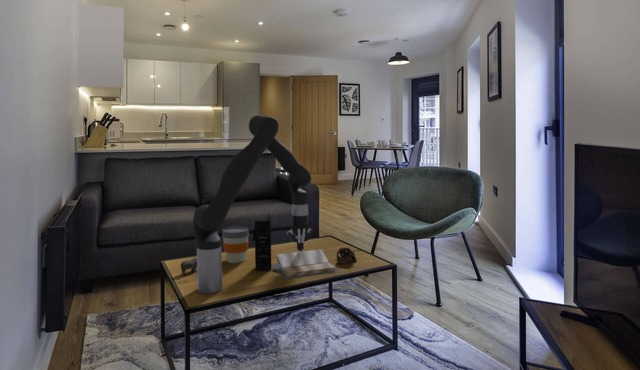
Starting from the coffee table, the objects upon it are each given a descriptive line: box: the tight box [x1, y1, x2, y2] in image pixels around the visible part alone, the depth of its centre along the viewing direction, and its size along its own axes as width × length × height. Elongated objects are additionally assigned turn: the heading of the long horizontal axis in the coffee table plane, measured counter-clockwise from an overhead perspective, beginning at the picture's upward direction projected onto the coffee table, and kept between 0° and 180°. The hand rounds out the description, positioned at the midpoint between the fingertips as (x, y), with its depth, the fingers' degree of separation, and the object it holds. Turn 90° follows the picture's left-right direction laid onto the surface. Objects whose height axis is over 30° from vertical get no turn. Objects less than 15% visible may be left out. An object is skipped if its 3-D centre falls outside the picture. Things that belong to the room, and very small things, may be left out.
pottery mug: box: [336, 247, 358, 264], centre depth 203 cm, size 12×10×8 cm
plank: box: [276, 248, 329, 271], centre depth 196 cm, size 22×9×2 cm
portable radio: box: [252, 213, 272, 272], centre depth 191 cm, size 8×6×25 cm
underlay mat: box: [271, 262, 342, 281], centre depth 194 cm, size 26×22×1 cm
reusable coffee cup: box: [221, 226, 250, 264], centre depth 205 cm, size 13×13×15 cm
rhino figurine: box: [180, 257, 197, 277], centre depth 190 cm, size 4×14×6 cm, turn 147°
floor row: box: [283, 262, 336, 277], centre depth 189 cm, size 22×7×2 cm, turn 112°
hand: (300, 250), depth 199 cm, fingers closed
